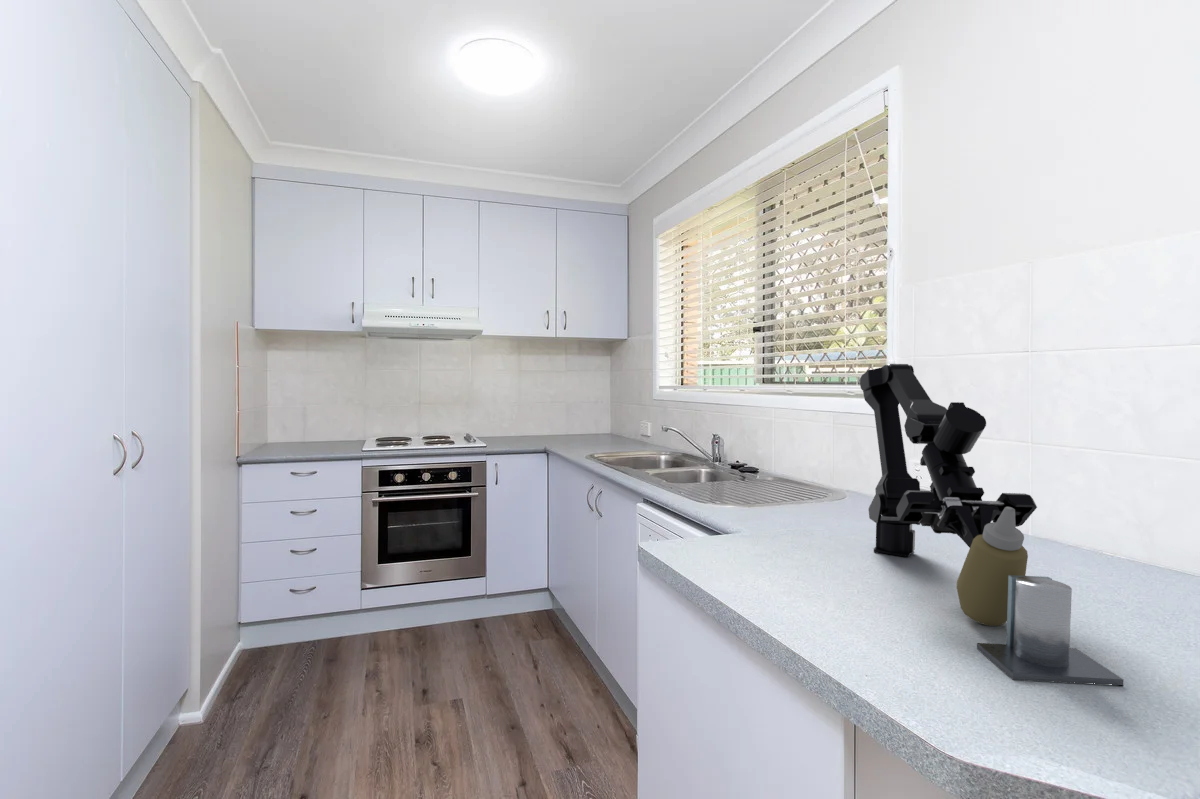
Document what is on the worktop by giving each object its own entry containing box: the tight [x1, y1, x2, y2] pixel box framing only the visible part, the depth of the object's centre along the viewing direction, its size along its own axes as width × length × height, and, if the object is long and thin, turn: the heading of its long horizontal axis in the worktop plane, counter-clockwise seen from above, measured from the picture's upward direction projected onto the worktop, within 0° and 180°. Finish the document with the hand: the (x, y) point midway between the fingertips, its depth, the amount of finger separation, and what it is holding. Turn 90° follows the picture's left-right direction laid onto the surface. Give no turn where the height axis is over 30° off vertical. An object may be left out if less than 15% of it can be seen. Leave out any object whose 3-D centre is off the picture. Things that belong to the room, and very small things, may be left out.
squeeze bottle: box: [956, 507, 1029, 627], centre depth 83 cm, size 8×8×18 cm
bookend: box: [976, 575, 1125, 686], centre depth 72 cm, size 8×12×10 cm, turn 84°
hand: (983, 556), depth 87 cm, fingers closed
